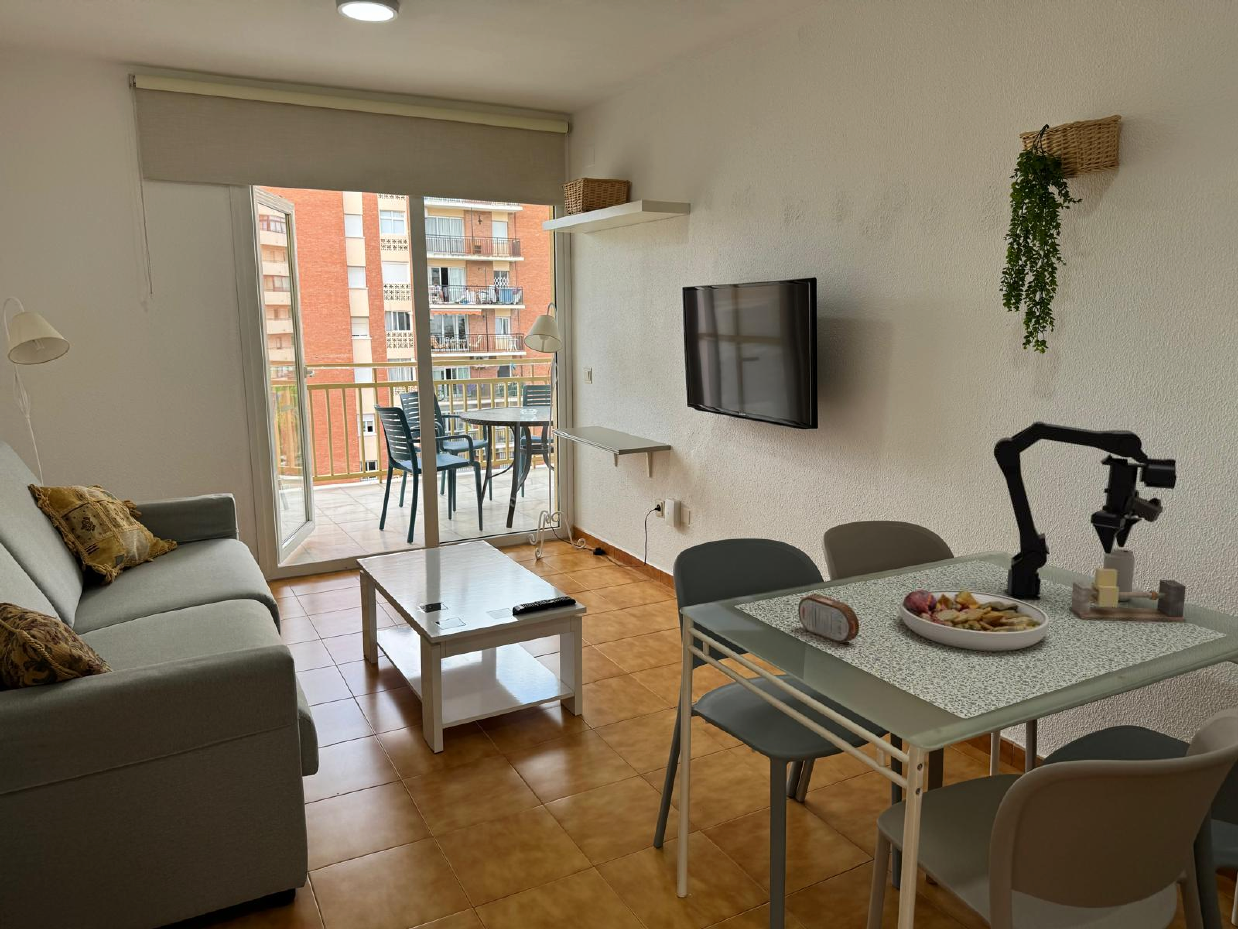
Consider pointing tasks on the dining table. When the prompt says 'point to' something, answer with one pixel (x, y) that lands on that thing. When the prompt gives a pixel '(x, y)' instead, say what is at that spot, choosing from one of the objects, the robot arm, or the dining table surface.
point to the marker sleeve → (1105, 588)
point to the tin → (828, 618)
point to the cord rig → (1166, 611)
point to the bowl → (973, 619)
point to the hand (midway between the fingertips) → (1114, 550)
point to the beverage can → (1121, 568)
